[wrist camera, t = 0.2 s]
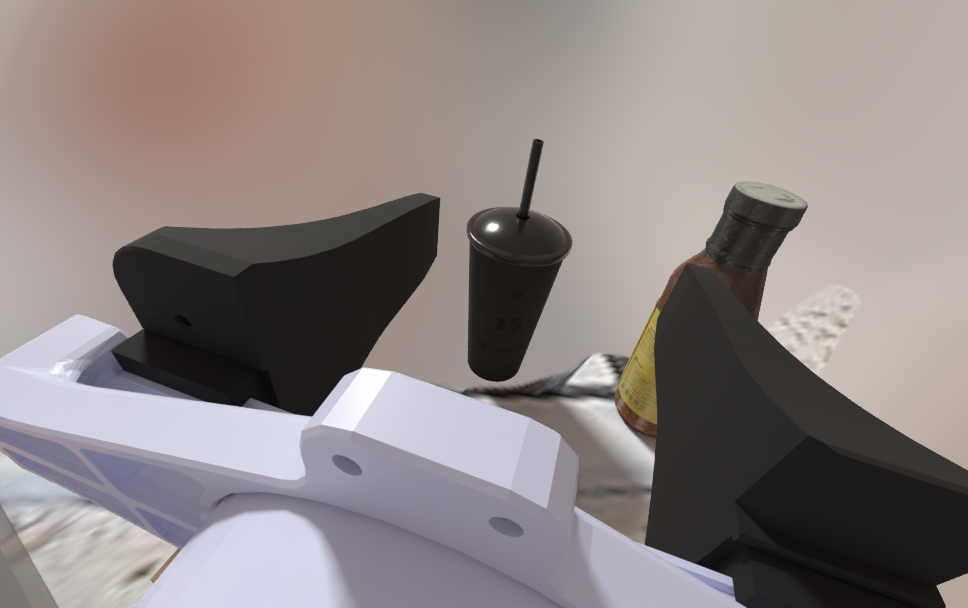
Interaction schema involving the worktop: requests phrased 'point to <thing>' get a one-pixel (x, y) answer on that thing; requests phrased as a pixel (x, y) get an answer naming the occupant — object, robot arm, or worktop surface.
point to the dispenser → (19, 573)
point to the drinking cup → (510, 278)
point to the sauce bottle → (735, 260)
